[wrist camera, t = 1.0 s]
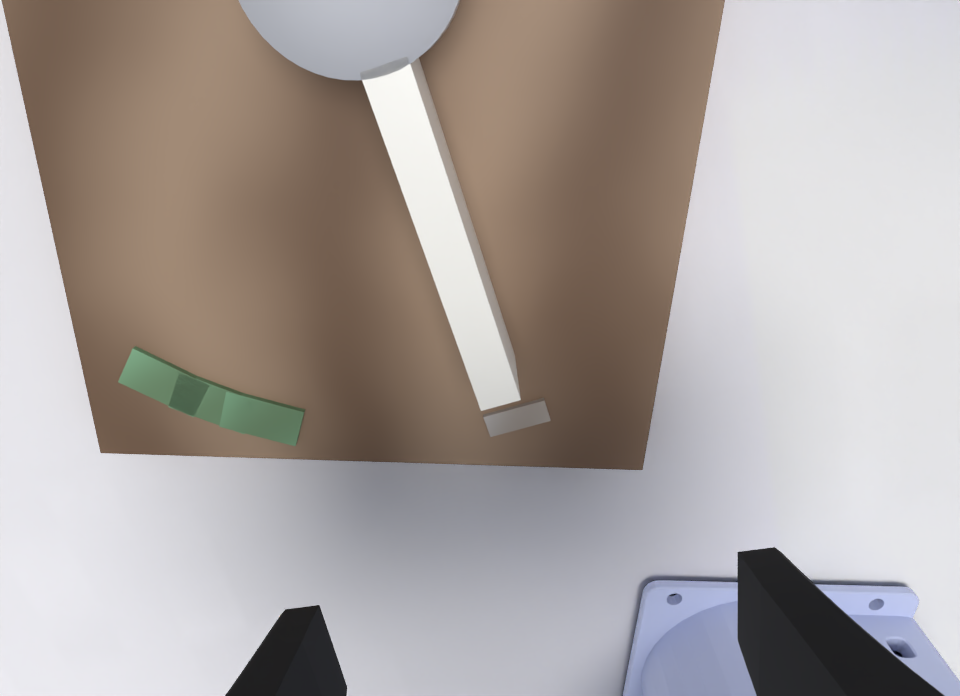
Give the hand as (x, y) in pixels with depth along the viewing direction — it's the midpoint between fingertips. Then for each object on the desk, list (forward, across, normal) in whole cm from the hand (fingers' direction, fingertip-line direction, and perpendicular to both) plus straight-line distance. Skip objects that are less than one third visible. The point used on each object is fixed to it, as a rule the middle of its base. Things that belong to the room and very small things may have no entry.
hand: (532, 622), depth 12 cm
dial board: (+10, +2, -7) cm, 12 cm away
